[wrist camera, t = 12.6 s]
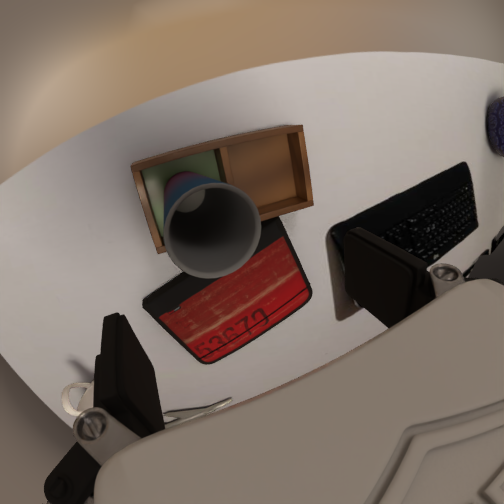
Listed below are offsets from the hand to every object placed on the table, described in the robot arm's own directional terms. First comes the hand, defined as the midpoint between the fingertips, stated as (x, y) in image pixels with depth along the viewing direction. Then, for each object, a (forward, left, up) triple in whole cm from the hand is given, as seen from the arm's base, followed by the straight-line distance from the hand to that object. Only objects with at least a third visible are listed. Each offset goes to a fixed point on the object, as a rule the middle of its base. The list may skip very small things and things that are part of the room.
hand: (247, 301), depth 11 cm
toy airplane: (+40, -12, -26) cm, 49 cm away
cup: (+1, +1, -24) cm, 24 cm away
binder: (+17, +4, -26) cm, 31 cm away
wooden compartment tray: (+1, +6, -25) cm, 26 cm away
